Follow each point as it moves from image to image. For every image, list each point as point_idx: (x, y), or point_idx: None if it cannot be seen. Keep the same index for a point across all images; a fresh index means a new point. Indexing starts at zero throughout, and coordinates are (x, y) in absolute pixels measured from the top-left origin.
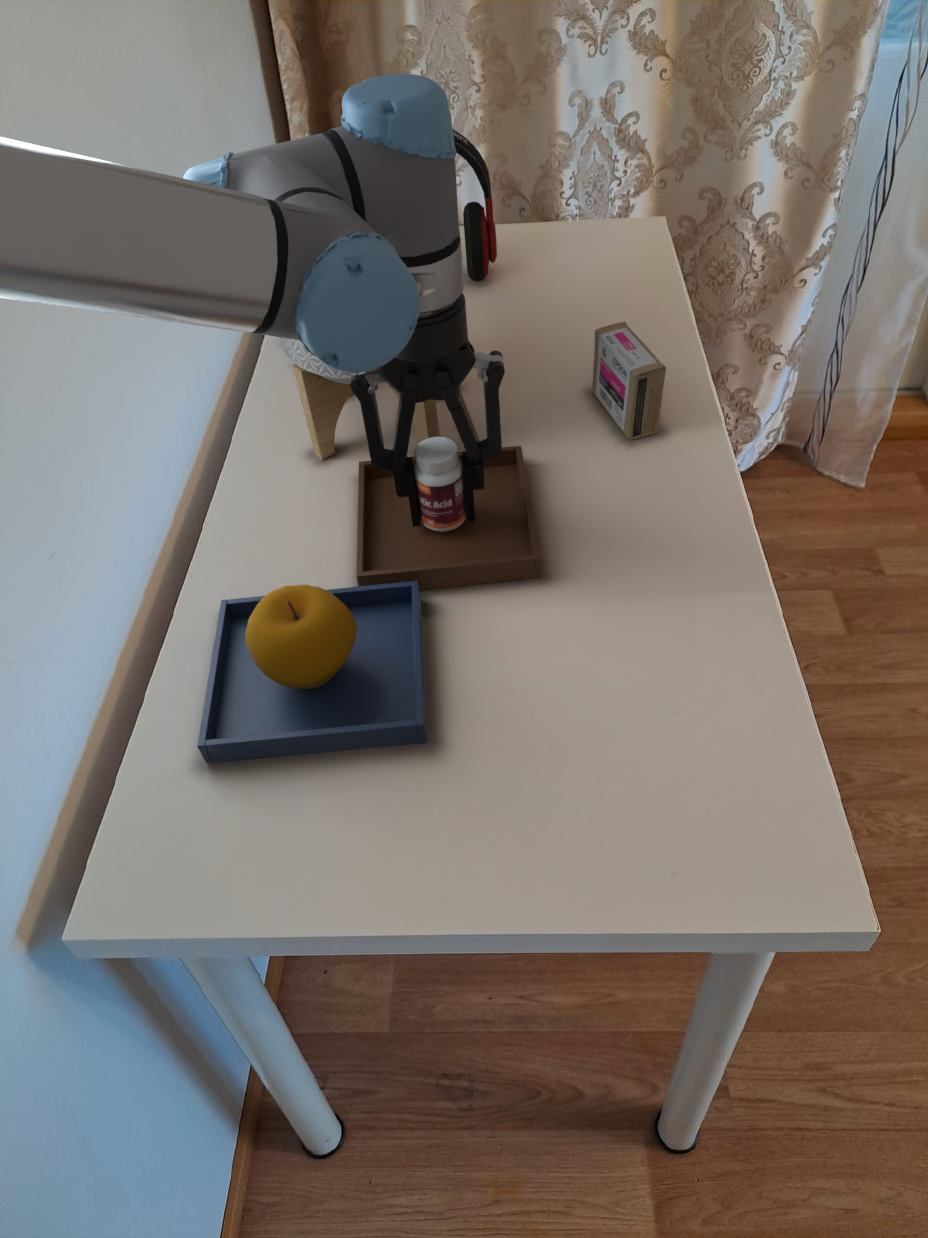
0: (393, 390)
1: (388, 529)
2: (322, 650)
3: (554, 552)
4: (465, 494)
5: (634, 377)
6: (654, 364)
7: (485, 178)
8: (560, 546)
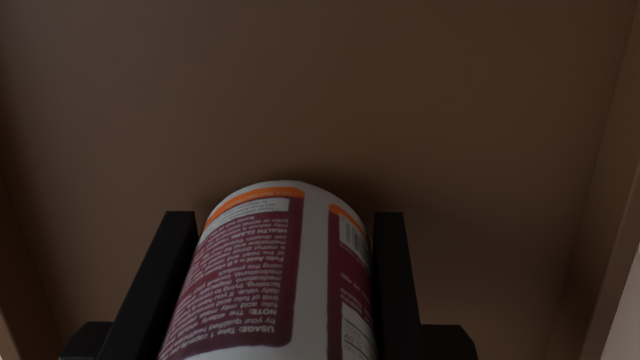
0: None
1: (97, 236)
2: None
3: (605, 349)
4: (376, 320)
5: None
6: None
7: None
8: (631, 333)
